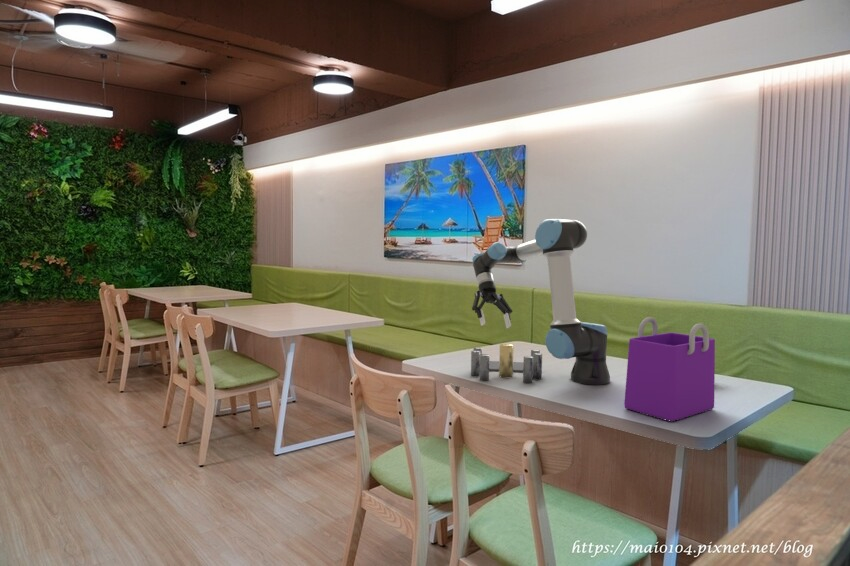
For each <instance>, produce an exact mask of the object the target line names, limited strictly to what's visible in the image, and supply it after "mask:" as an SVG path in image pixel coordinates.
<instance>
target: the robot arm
mask: <svg viewBox="0 0 850 566" xmlns="http://www.w3.org/2000/svg"><path fill="white" fill-rule="evenodd" d="M587 237H588V231H587V228H586V226H585V225H584V224H583V222H581V221H579V220H577V219H565V218H564V219H562V218H548V219H544V220H543V221H542V222H540V223H539V225H538V227H537V228H536V230H535V235H534V239H533V240H529V241H526V242H523V243H521V244H518V245H515V246H506V245H504V244H503V243H501V242H500V241H495V242H494V243H492V244H491V245H490V246H488V248H487V249H486V250H485V251H484V252H479V253H476V254H474V256H472V259H471V260H472V267H473V269H474V273H475V278H476V282H477V286H478V290H477V291H476V292H474V299H473V304H472V307H471V310H472V311H474V313H475V314H476V315H477V318H478V319H479V323H480V326H481V327H483V326H484V325H485V324H486V317H485V315H484V310H483V309H482V308H483V307H484V305H485V304H492V305H494V306H495V307H496V308H498V309H499V310H500V311H501V313H502V314H503V315H502V316H503V319H504V320H503V321H504V324H505V328H506V329H509V328H511V327H512V323H511V319H512V318H511V314H512V313H513V309H512V308H511V307H510V305H509V304H508V302H507V301H506V299H505V298H504V296H503V295H504V294H502V293H500V294H497V288H496V284H495V280H494V276H493V272H492V269H493V268H495V266H496V265H498V264H523V263H525V262H526V261H527V260H530V259H533V258H537V257H539V256H543V257H545V258H546V259H547V266H548V277H549V278H548V279H549V287H550V295H551V297H550V298H551V306H552V307H551V308H552V318H553V320H552V321H551V323H550V324H549V327H550V328H549V329H550V330H548V331H547V332H546V335H545V339H544V340H545V341H544V344H545V345H546V349H547V351H548V353H550V354H551V355H552V357H554V358H556V359H559V360H564V359H565V360H569V359H572V358H573V359H574V358H575V361H574V363H573V365H572V366H573V367H572V369H571V371H570V380H571V381H573V382H576V383H579V384H583V385H593V386H598V385H599V386H600V385H607V384H610V382H611V376H610V371H609V367H608V364H607V351H608V350H607V348H608V347H607V346H608V328H607V326H606V325H604V324H599V323H592V322H583V321H580V320H579V319H578V318H577V313H576V302H575V291H574V284H573V272H572V264H571V263H572V262H571V256H572V255H573V253H574V250H575V249H578V248H581V247H582V246H583V245H584V244H585V242H586V241H587ZM480 297H481V298H482V299H481V301H480ZM479 301H480V303H479Z"/></svg>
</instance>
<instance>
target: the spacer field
mask: <svg viewBox="0 0 850 566" xmlns="http://www.w3.org/2000/svg"><path fill="white" fill-rule="evenodd" d="M470 354H471V357H470V376H471V377H474V376H477V377H479V381H481V380H482V382H488V380H490V371H489V361H490V354H486V353H483V348H482V347H480V346H478V347H477V346H475V347H473V350H471V351H470ZM523 362H524V366H523V372H522V375H523V377H522V381H523V383H525V384H532V383H533V380H542V377H543V375H542V374H543V373H542V372H543V354H542V353H541V350H540V349H530V355H524V356H523Z"/></svg>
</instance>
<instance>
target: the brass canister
mask: <svg viewBox="0 0 850 566" xmlns="http://www.w3.org/2000/svg"><path fill="white" fill-rule="evenodd" d="M498 355H499V357H498V358H499V360H498V361H499V371H498V377H500V376H501V377H500V378H503V377H511V378H513V377H514V372H513V362H514V344H512V343H499V354H498Z"/></svg>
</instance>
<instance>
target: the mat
mask: <svg viewBox="0 0 850 566" xmlns="http://www.w3.org/2000/svg"><path fill="white" fill-rule="evenodd" d="M523 366H524V361H523V362H522V361H521V362H520V361H513V373H523ZM489 372H499V360H497V361H496V360H489Z"/></svg>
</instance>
